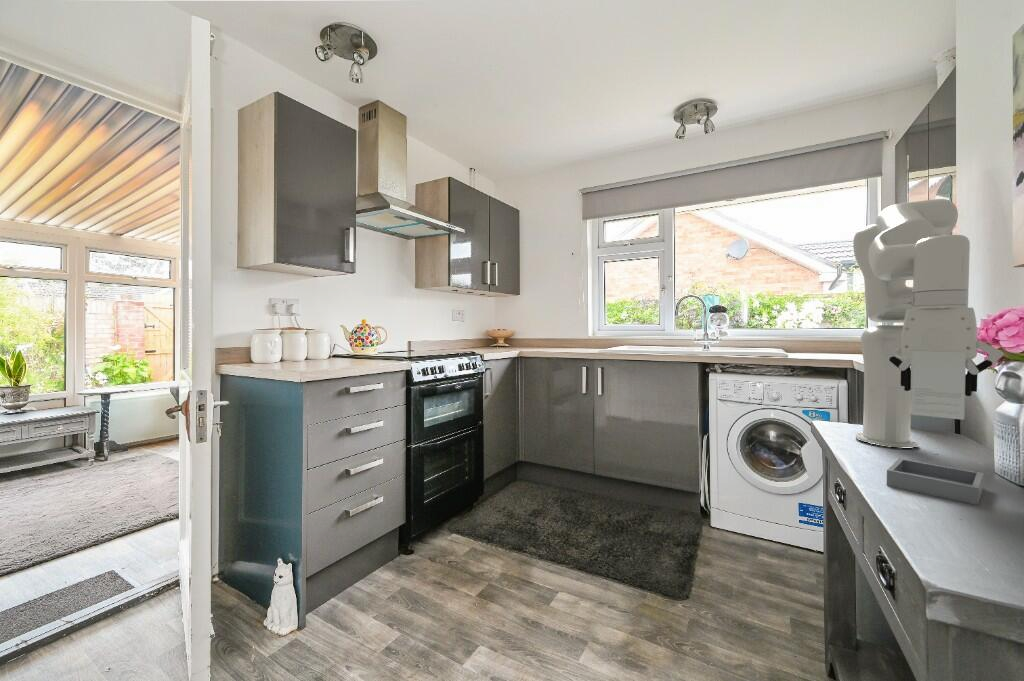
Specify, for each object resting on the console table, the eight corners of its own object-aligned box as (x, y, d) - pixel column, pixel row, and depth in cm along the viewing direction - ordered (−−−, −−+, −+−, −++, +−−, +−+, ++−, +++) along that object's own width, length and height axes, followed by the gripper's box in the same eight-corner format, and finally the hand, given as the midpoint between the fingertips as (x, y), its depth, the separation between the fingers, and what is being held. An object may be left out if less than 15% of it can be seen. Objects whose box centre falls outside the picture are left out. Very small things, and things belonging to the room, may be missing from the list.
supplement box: (963, 415, 82) (965, 349, 81) (964, 420, 76) (966, 351, 76) (911, 410, 87) (912, 348, 87) (908, 414, 82) (910, 349, 81)
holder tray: (898, 472, 91) (899, 458, 91) (983, 488, 81) (983, 473, 81) (886, 485, 83) (886, 470, 83) (978, 505, 74) (978, 488, 74)
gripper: (876, 302, 86) (874, 389, 86) (1008, 297, 72) (1005, 400, 72) (884, 304, 90) (882, 386, 91) (1010, 299, 77) (1007, 396, 77)
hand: (937, 392), depth 82 cm, fingers closed on supplement box, 7 cm apart
